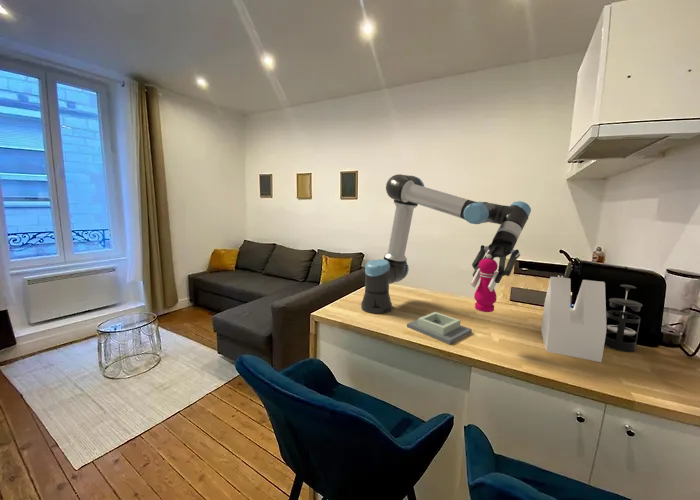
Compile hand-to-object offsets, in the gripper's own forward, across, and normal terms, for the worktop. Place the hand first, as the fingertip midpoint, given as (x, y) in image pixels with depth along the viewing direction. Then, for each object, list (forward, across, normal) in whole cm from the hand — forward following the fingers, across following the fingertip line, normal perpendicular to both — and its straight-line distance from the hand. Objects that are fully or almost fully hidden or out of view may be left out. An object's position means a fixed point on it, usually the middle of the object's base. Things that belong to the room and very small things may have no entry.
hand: (481, 287), depth 103 cm
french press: (-15, -32, -47) cm, 59 cm away
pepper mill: (+4, 0, -9) cm, 10 cm away
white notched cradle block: (-5, -20, -37) cm, 43 cm away
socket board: (+14, +18, -19) cm, 29 cm away
